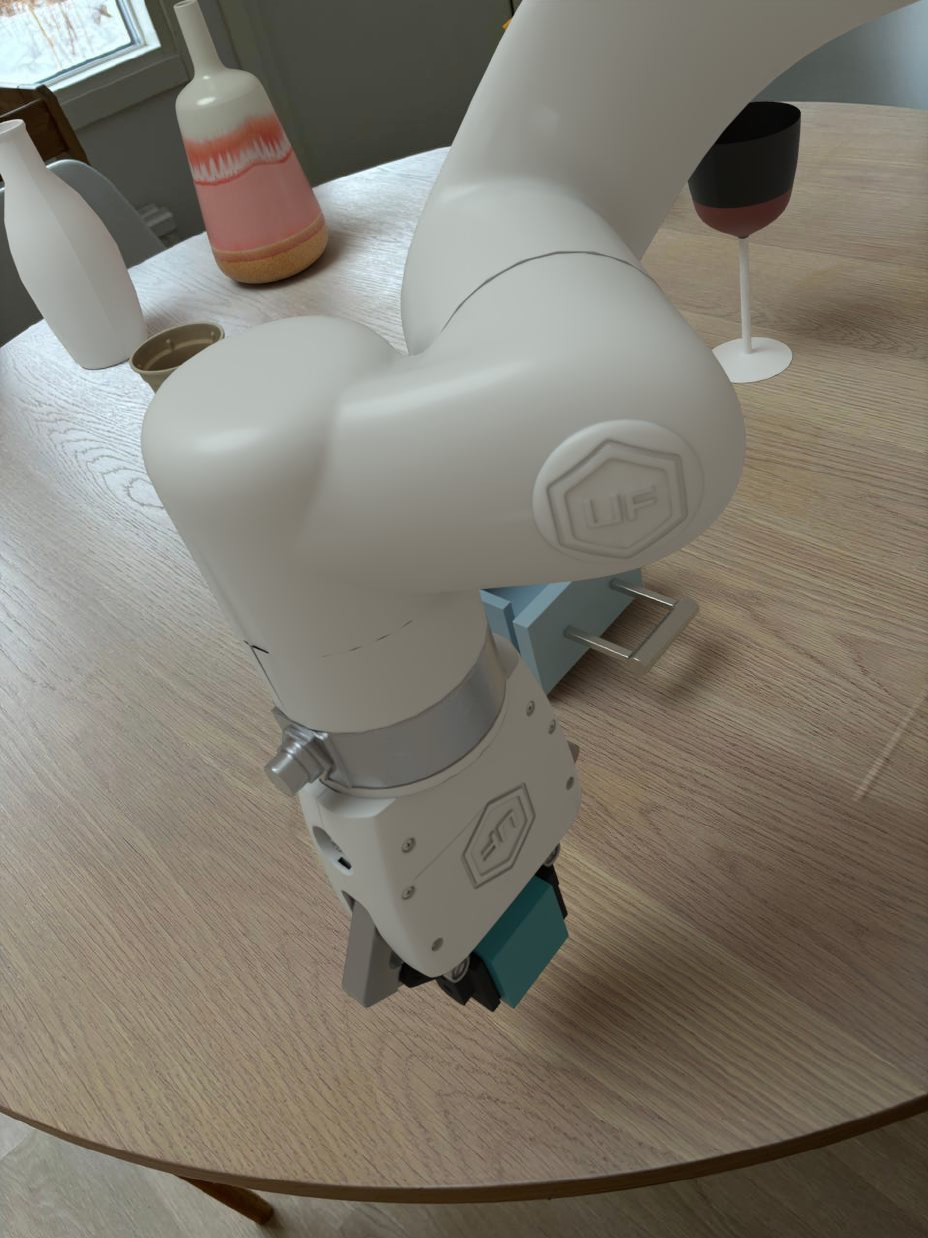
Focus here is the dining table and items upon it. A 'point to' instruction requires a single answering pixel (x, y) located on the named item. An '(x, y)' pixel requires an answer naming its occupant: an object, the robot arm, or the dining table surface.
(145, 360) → the flower pot
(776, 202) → the wineglass
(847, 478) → the dining table surface
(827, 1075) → the dining table surface
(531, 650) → the drawer
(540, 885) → the teal block
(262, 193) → the vase
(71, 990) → the dining table surface
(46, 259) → the bottle
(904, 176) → the dining table surface
